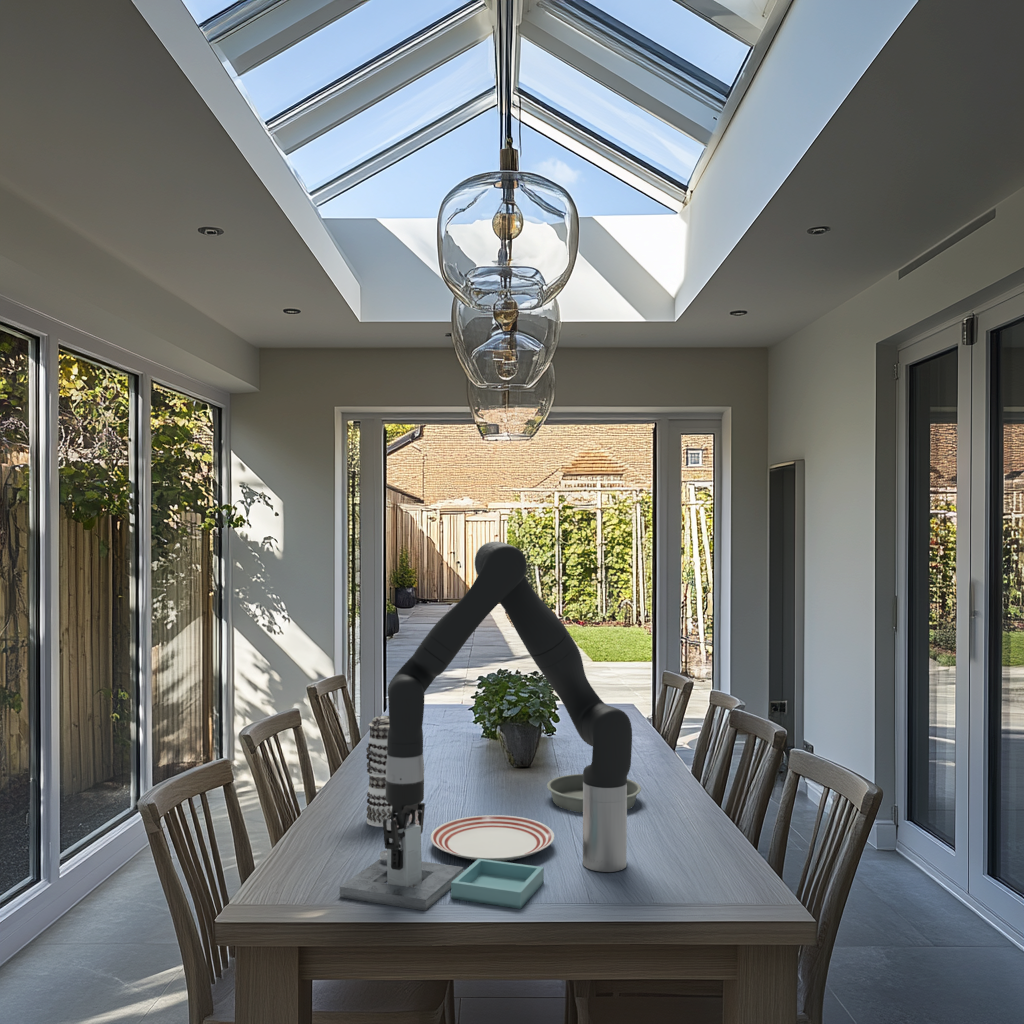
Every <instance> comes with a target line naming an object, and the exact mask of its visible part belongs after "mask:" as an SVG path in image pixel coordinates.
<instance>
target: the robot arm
mask: <svg viewBox="0 0 1024 1024" xmlns="http://www.w3.org/2000/svg"><path fill="white" fill-rule="evenodd" d="M527 566H528V564H527V560H526V557H525V555H524V553H523V552H522V551H521V550H520V549H519V548H518V547H515V546H514V545H512V544H509V543H507V542H502V541H490V542H487V543H484V544H482V545H481V546H480V547H479V549H478V550H477V551H476V555H475V556H474V570H475V572H476V575H477V577H476V578H475V580H474V582H473V584H472V585H471V586H470V588H468V589H469V590H468V591H467V592H466V593H465V594H464V596H463V597H462V598H461V599H460V600H459V601H458V602H457V603H456V604H455V605H454V606H453V607H452V608H451V609H450V610H449V611H448V612H446V614H444V615H443V616H442V617H441V618H440V619H439V620H438V621H437V622H436V623H435V625H434V626H433V627H432V628H431V629H430V631H429V632H428V634H426V636H425V637H424V639H423V640H422V641H421V643H420V644H419V645H418V647H417V648H416V650H415V651H414V653H413V654H412V655H411V656H410V658H409V659H408V660H407V661H406V662H405V663H404V664H403V665H402V667H400V669H398V671H397V672H396V673H395V675H394V676H393V677H392V679H391V680H390V681H389V684H388V687H387V698H388V716H389V730H388V740H387V762H386V801H387V803H389V804H391V805H392V812H391V818H390V819H384V820H383V827H382V829H383V840H384V841H383V842H384V843H383V844H384V849H386V850H387V849H391V868H392V869H395V870H401V869H402V868H403V850H402V849H403V839H404V837H405V832H404V830H406V829H407V828H409V825H410V824H416V825H419V826H421V835H422V834H423V831H424V821H425V820H424V819H425V808H426V803H425V802H423V801H424V799H425V762H424V761H425V759H424V731H423V724H424V712H425V692H426V691H427V690H428V688H429V687H430V686H431V684H432V683H433V682H434V680H435V679H436V677H437V676H440V675H442V674H443V672H444V671H446V669H447V668H448V666H449V665H450V664H451V662H453V660H454V659H455V657H456V656H457V654H458V653H460V652H459V651H460V650H462V647H463V646H464V645H465V643H467V640H469V638H470V637H471V636H472V635H473V633H474V632H475V631H476V629H478V627H479V626H480V624H481V623H482V622H483V621H484V620H485V619H486V618H487V617H488V615H489V614H490V613H492V611H493V610H494V609H495V608H496V606H498V605H499V604H500V605H501V606H502V608H503V609H504V611H505V613H506V614H507V616H508V618H509V620H510V621H511V624H512V625H513V628H514V629H515V632H516V633H517V635H518V636H519V638H520V640H521V642H522V643H523V645H524V647H525V648H526V650H527V652H528V654H529V655H530V656H531V659H532V660H533V662H534V664H535V665H536V667H537V668H538V670H540V672H541V673H542V674H543V676H544V677H545V680H546V681H547V682H548V684H549V685H550V687H551V688H552V689H553V691H554V692H555V693H556V694H557V696H558V697H559V699H560V701H561V702H562V704H563V706H564V707H565V709H566V712H567V713H568V716H569V718H570V719H571V721H572V723H573V726H574V728H575V729H576V732H577V733H578V735H579V737H580V738H581V739H582V741H583V742H585V744H587V745H589V746H590V747H592V752H591V753H592V754H591V755H592V756H591V763H590V764H589V765H588V764H587V765H586V766H585V767H584V768H583V772H582V774H583V813H582V865H583V867H585V868H586V869H587V870H591V871H594V872H595V871H596V872H601V873H613V872H618V871H622V870H625V868H626V867H627V859H628V858H627V852H628V851H627V848H628V847H627V846H628V842H627V841H628V839H627V838H628V833H627V832H628V823H627V822H628V817H627V816H628V810H627V779H628V775H629V773H630V770H631V766H632V765H631V764H632V751H633V727H632V722H631V719H630V718H629V716H628V714H627V713H626V712H625V711H624V710H621V709H620V708H617V707H613V706H610V705H608V704H607V703H605V702H604V701H603V700H602V699H601V698H600V696H599V695H598V694H597V692H596V691H595V689H594V688H593V687H592V685H591V684H590V682H589V680H588V678H587V676H586V672H585V667H584V663H583V659H582V654H581V652H580V649H579V647H578V646H577V643H576V642H575V640H574V639H573V637H572V636H571V634H570V632H569V631H568V629H567V628H566V626H565V625H564V623H563V622H562V621H561V619H560V618H558V616H557V615H556V614H555V613H554V612H553V610H552V609H551V608H550V607H549V606H548V605H547V604H546V603H545V602H544V601H543V599H541V598H540V597H539V596H538V594H537V593H536V592H535V590H534V589H533V588H532V586H531V584H530V583H529V580H528V579H527V577H526V574H527ZM403 828H404V830H403V832H402V833H398V830H400V829H403ZM398 837H400V840H398ZM389 838H391V839H390V840H389Z"/></svg>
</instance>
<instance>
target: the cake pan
mask: <svg viewBox="0 0 1024 1024" xmlns="http://www.w3.org/2000/svg"><path fill="white" fill-rule="evenodd" d="M546 787H547V789H548V791H550V792H551V793H550V794H551V797H552V801H553V803H555V804H556V806H557V807H558V806H559V808H561V809H563V808H564V809H563V810H566V809H567V811H570V810H571V811H570V812H574V811H576V812H575V813H581V812H583V773H578V774H577V773H576V774H568V775H567V774H565V775H563V776H559V777H555V778H552V779H551V780H550V781H548V782H547V784H546ZM640 792H642V787H641V785H640V784H639V783H638V782H636V781H633V780H632V779H629V778H627V809H628V810H630V809H631V807H632V808H633V807H634V806H635V803H636V799H637V796H638V794H640ZM555 804H554V805H555Z"/></svg>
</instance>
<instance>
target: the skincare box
mask: <svg viewBox="0 0 1024 1024" xmlns="http://www.w3.org/2000/svg"><path fill="white" fill-rule="evenodd" d="M403 830H404V828H403V829H400V830H398V833H402V832H403ZM404 832H405V837H404V839H403V849H402V850H403V868H402V869H401V870H395V869H392V868H391V849H386V850H387V881H386V882H387V883H386V884H392V885H399V886H406V887H413V888H415V887H416V886H417V885H418V884H420V883H421V882H422V881H423V880H422V863H421V861H422V834H421V826H419V825H416V824H410V825H409V828H407V829H406V830H404ZM390 839H391V838H389V840H390ZM398 840H400V837H398Z"/></svg>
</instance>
